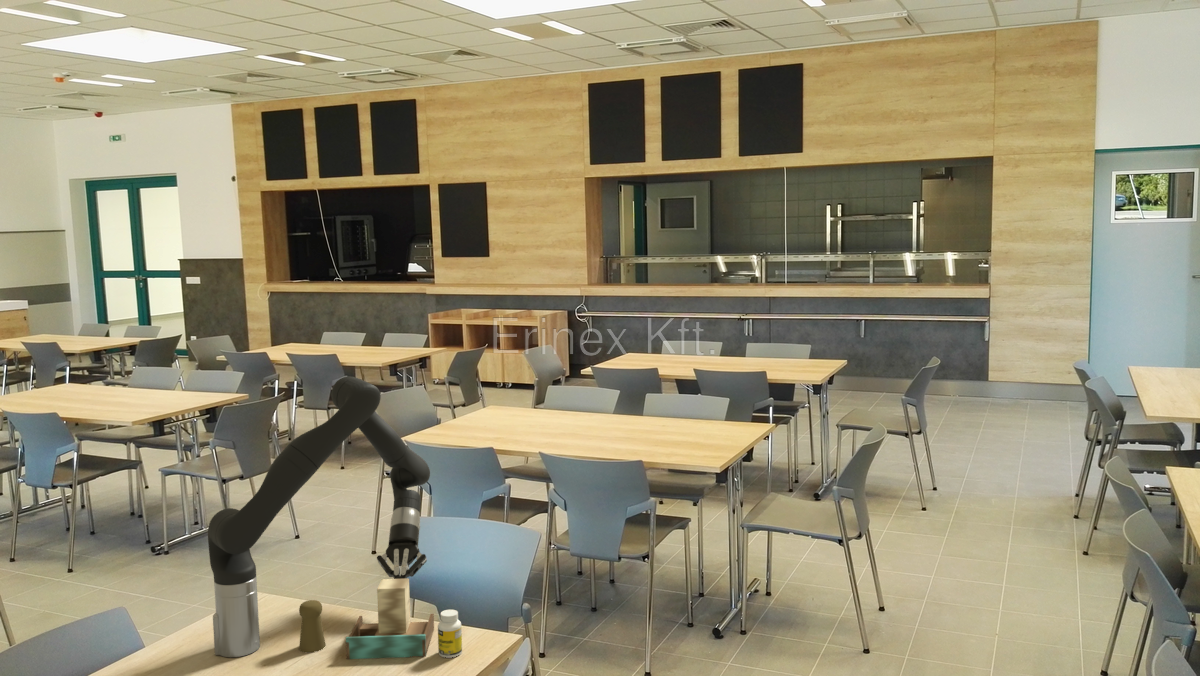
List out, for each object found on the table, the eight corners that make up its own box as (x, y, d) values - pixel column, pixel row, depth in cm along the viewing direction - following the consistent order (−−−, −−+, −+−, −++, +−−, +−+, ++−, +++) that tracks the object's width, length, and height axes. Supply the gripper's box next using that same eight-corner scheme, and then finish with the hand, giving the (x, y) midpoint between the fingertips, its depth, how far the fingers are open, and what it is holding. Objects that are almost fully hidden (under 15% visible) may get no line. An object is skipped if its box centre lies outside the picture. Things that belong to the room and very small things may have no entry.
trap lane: (346, 659, 214) (345, 638, 214) (360, 631, 230) (359, 612, 229) (425, 656, 215) (425, 635, 215) (434, 629, 230) (433, 609, 230)
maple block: (378, 633, 223) (377, 589, 222) (383, 622, 230) (382, 579, 229) (406, 632, 224) (404, 588, 223) (410, 621, 230) (408, 578, 229)
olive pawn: (313, 639, 225) (311, 595, 224) (331, 645, 222) (329, 600, 221) (293, 649, 220) (291, 603, 219) (311, 654, 217) (309, 608, 216)
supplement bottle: (433, 655, 216) (432, 614, 215) (448, 646, 220) (446, 606, 219) (452, 660, 213) (451, 618, 212) (466, 651, 218) (465, 610, 217)
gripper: (376, 522, 241) (369, 585, 231) (428, 521, 242) (423, 584, 231) (381, 536, 247) (374, 598, 236) (431, 534, 248) (427, 596, 237)
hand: (399, 591), depth 234 cm, fingers closed
